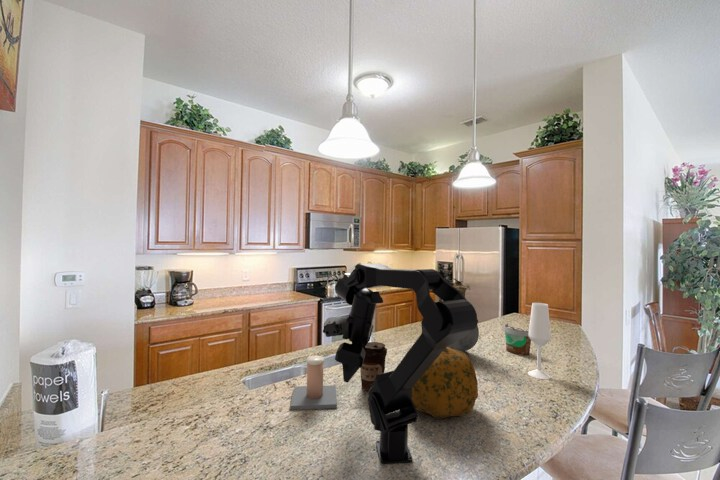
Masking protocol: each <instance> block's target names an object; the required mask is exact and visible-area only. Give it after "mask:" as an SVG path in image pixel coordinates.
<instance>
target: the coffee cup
mask: <svg viewBox="0 0 720 480" xmlns="http://www.w3.org/2000/svg"><path fill="white" fill-rule="evenodd" d="M364 350H365V352H366V353H365V358H364V361H363V365H362V367H361V368H359V370H360V372H359V373H360V381H361V389H362V390H363V391H365V392H368V393H369V390H370V388H371V386H370V384H372V383H373V382H374V380H375V378H376V376H377V375H378V374H382V373H385V369H386V358H387V354H388V349H387V348H386V344H385V343H383V342H378V341H369V342H368V343H367V345H366V346H365V348H364Z"/></svg>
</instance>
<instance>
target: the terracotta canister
mask: <svg viewBox="0 0 720 480" xmlns="http://www.w3.org/2000/svg"><path fill="white" fill-rule="evenodd" d="M324 363H325V357H324V356H321V355H310V356H307V358H306V386H307V393H306V396H307V397H308V398H310V399H318V398H320V397H322V396H323V386H324V365H325V364H324Z"/></svg>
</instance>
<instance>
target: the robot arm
mask: <svg viewBox="0 0 720 480" xmlns="http://www.w3.org/2000/svg"><path fill="white" fill-rule="evenodd" d="M451 284H452V283H450V282H448V281H447V280H446V279H445V278H444V277H443V275H442V274H441V273H440V272H439V271H438V270H437V269H433V268H425V269H424V268H423V269H420V268H419V269H411V268H410V269H406V268H405V269H404V268H392V267H389V266H388V265H386V264H383V263H358V264H355V266H354V269H353V270H351V272H346V273H345V272H344V273H343V277H341V278H340V279H339V280H338V281H336V284H335V285H334V292H335V293H336V295H337V296H338V297H339V298H341V300H343V301H344V302H345V303H346V304H347V305H349V306H351V308H350V312H349V314H348V316H345V315H344V316H330V317H328V318H326V320H325V321H324V323H323V329H322V333H323V334H324V335H325V338H326V337H327V338H330V337H336V336H342V339H343V340H348V341H349V342H351V343H349V342H345V341H344V342H342V343H340V344H339V346H338V347H337V350H336V352H335V357H334V360H335V361H336V362H337V363H340V364H341V367H342V377H343V382H344V383H349V382H350V380H351V379H352V378H353V377H354V376H355V375H356V373H357V372H358V371H359V370H360V368H361V367H362V365H363V361H364V358H365V353H366V352H365V350H364V348H365V346H366V345H367V343H368V342H370V340H371V337H372V334H373V330H374V325H373V322H374V318H375V312H376V308H377V304H383V303H384V299H383V297H382V296H381V294H380V291H373V290H372V289H374V288H384V287H388V288H389V287H390V288H398V289H406V290H413V292H414V293H415V295H416V296H415V297H416V307H417V310H418V312H419V313H420V315H421V316H422V320H421V322H420V323H421V325H420V326H421V334H420V335H419V336H418V338H417V339H416V340H415V342H414V343H413V344H412V346H411V347H410V348H409V349H408V351H406V353H407V354H406V353H405V355H404V356H403V357H402V359H401V360H400V362H399V363H398V364H397V366H396V367H395V369H394V370H391V371H386V372H384V373H382V374H378V375H377V376H376V378H375V380H374V382H373V383H372V384H370V386H371V388H370V390H369V392H368V396H367V403H368V410H369V416H370V421H371V424H372V425H373V426H374V430H375V431H378V432H379V440H376V441H375V446H376V450H377V454H378V458H379V462H380V463H381V464H396V463H400V464H401V463H412V462H413V460H414V459H413V455H412V453H411V450H410V449H409V446H408V444H409V442H408V439H409V438H408V433H409V425H410V424H412V423H417V422H418V419H419V412H418V411H419V410H418V409H416V407H415V405H414V403H413V401H412V399H411V398H412V395H413V394H412V387H413V386H414V385H415V384H416V382H417V381H418V380H419V379H420V378H421V376H422V375H423V374H424V373H425V372H426V371H427V369H428V368H429V367H430V366H431V365H432V363H433V362H434V361H435V360H436V359H437V357H438V356H439V355H440V354H441V353H442V351H443V350H444V349H445V348H446V347H447V346H449V345H451V344H453V343H454V342H456V341H458V340H460V339H462V338H463V337H465V336H466V335H468V334H469V333H470V332H472V331H473V330H474V329H475V328H476V326H477V325H478V323H479V319H478V314H477V312H476V309H475V307H474V306H473V304H472V303H471V302H469V301H468V300H467V298H466V296H465V297H464V296H463V295H462V293H461V292H460V291H459V290H457V289H456V288H455V287H453V286H452V285H451ZM430 291H431V292H432V293H433V294H434V295H435V296H437V298H438V299H439V298H441V299H442V301H440V302H439V301H435V300H434V299H433V297H432V296H431V294H430Z"/></svg>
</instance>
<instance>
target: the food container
mask: <svg viewBox="0 0 720 480" xmlns="http://www.w3.org/2000/svg"><path fill="white" fill-rule="evenodd" d="M503 332H504V338H505V339H504V340H505V349H506V351H507V352H508V353H510V354H513V355H517V356H530V354H531V353H530V352H531V345H532V344H531V343H532V341H531V339H530V338H529V336H528V333H529V330H524V329H522V328H519V327H512V326H509V323H506V324H504V326H503Z"/></svg>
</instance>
